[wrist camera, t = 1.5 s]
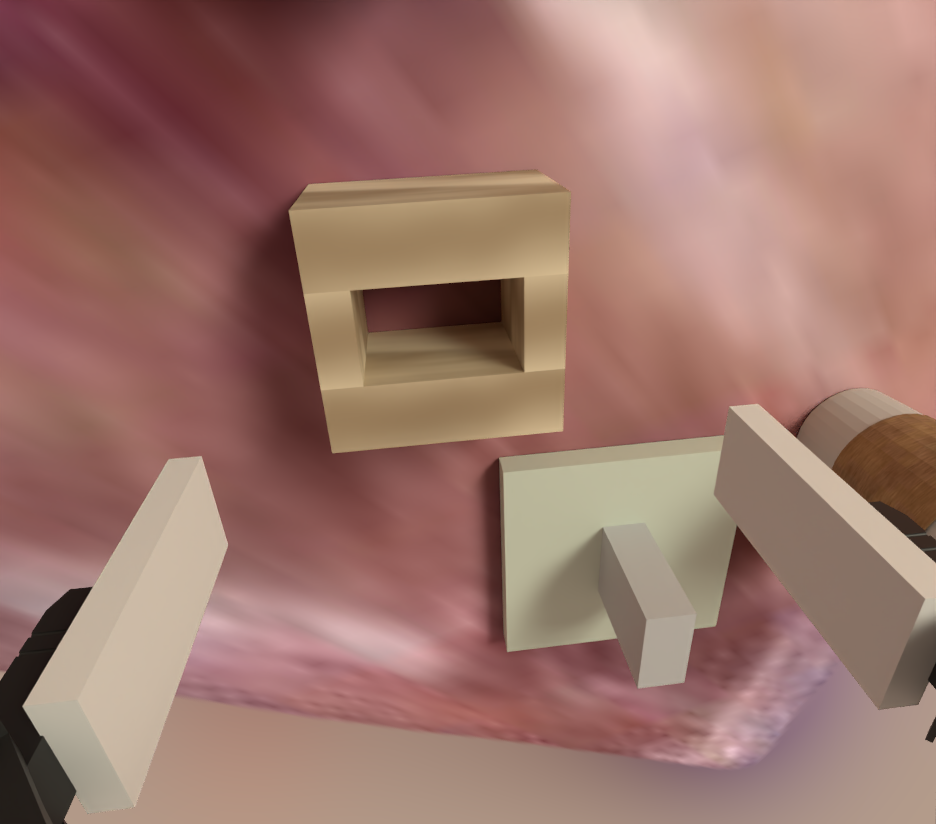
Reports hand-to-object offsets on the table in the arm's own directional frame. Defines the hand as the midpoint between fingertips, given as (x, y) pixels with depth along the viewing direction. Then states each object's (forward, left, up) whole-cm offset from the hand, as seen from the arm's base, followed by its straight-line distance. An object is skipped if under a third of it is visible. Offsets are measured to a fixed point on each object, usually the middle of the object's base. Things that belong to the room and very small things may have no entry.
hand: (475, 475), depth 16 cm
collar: (0, 0, -16) cm, 16 cm away
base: (+10, -17, -16) cm, 25 cm away
